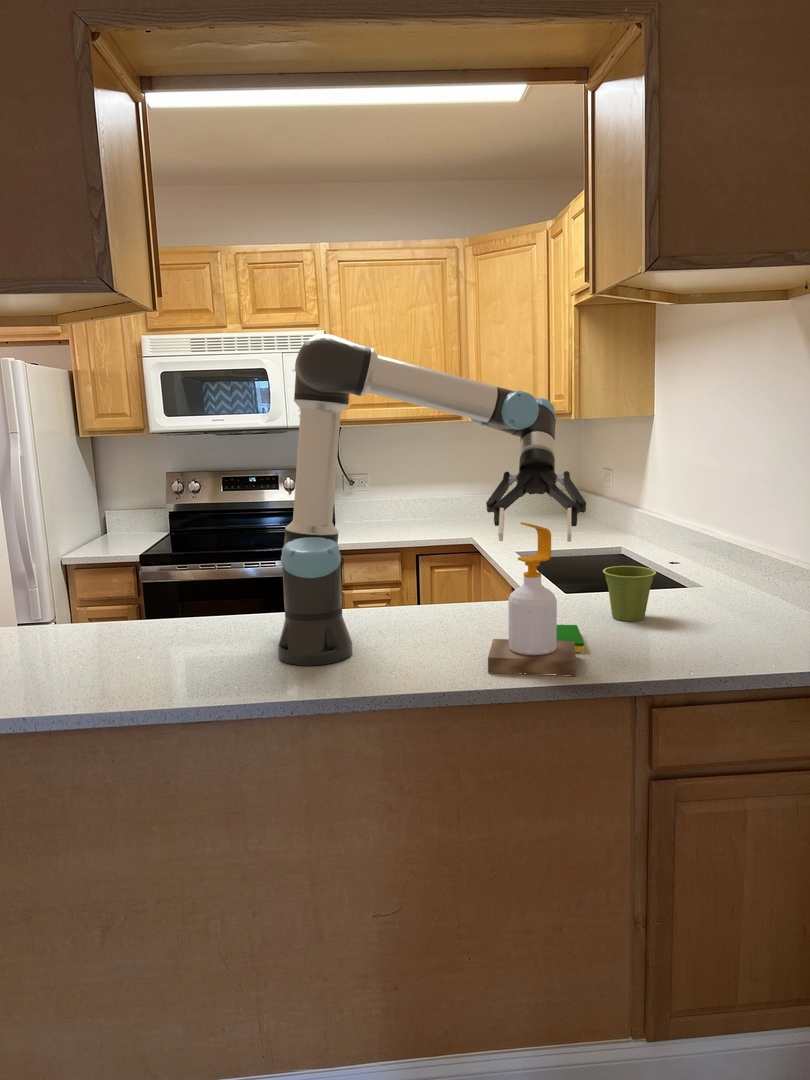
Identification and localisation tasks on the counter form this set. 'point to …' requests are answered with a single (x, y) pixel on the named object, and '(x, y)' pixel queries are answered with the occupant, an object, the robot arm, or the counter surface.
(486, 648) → the counter surface
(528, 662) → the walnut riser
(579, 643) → the dish sponge
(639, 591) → the plant pot
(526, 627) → the soap bottle
